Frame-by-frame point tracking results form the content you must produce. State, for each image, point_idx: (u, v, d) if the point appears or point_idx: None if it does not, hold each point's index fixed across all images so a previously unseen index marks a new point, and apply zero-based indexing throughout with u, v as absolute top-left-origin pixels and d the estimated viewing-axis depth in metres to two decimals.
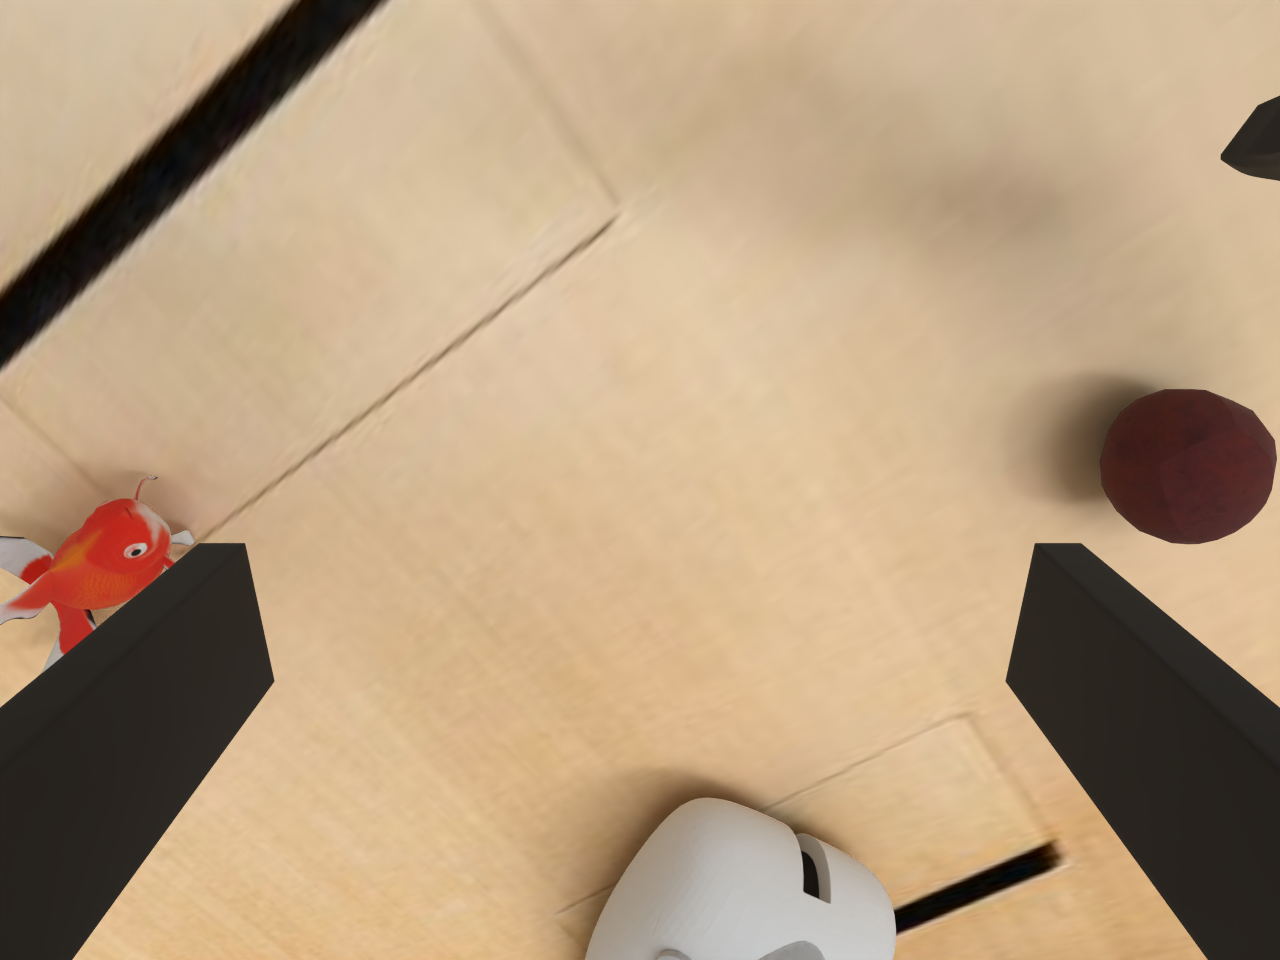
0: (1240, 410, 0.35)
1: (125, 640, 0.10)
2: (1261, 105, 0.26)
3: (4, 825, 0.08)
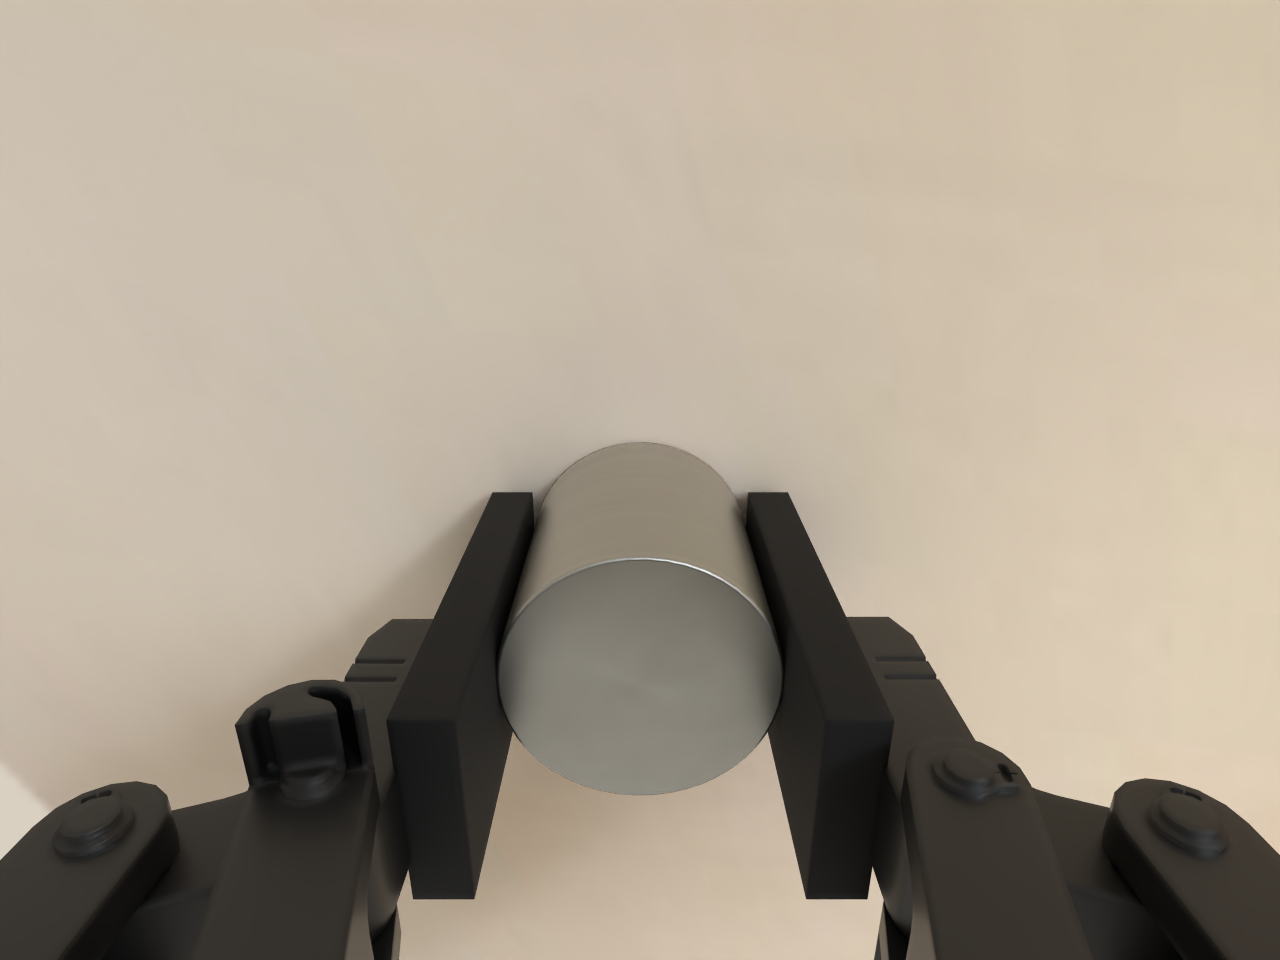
0: None
1: (496, 561, 0.12)
2: None
3: (480, 692, 0.10)
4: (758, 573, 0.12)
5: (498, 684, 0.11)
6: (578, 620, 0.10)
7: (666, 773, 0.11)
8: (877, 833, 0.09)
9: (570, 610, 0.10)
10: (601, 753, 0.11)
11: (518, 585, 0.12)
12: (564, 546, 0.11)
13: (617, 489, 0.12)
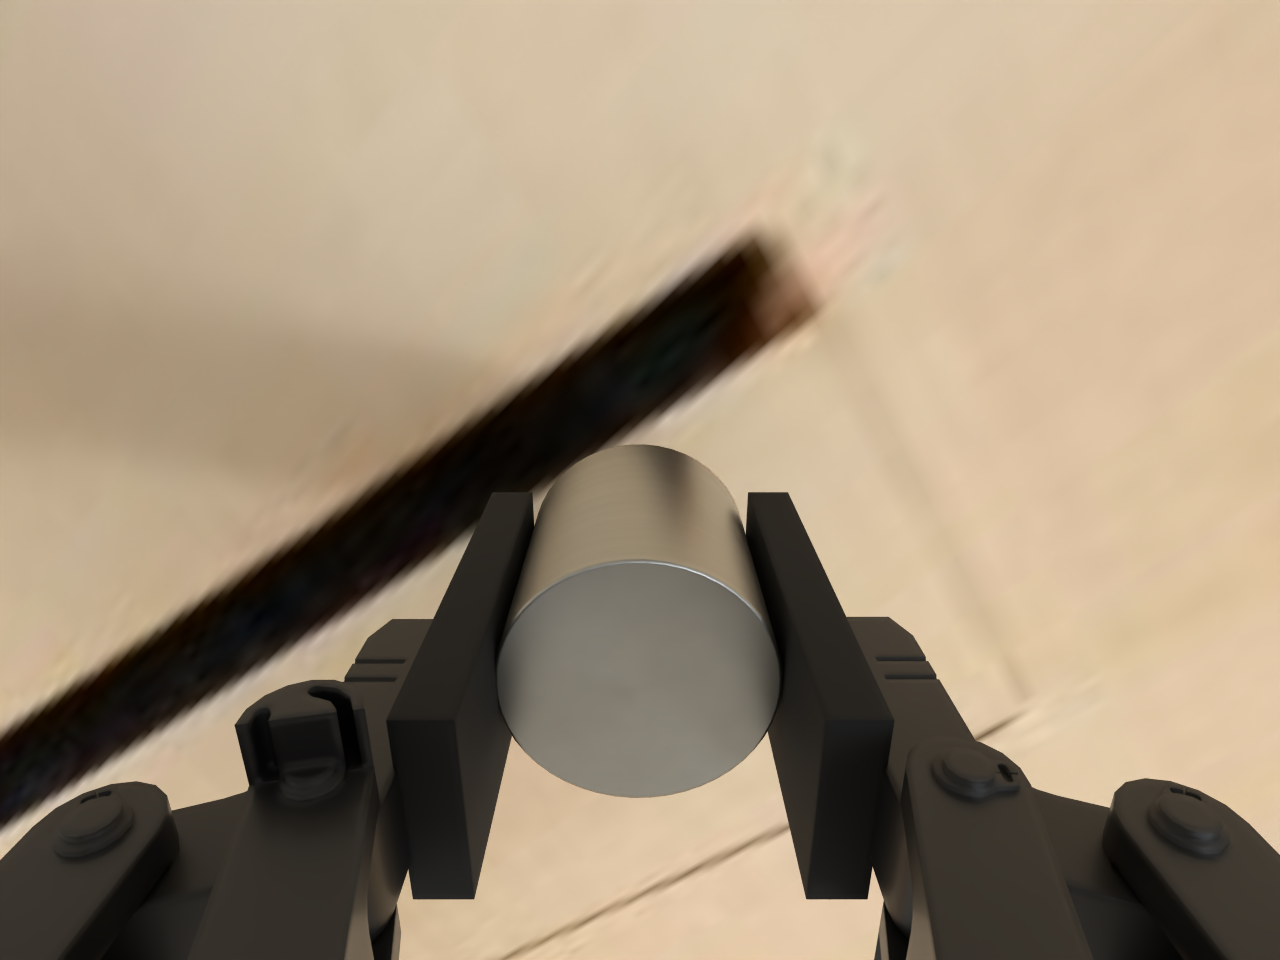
0: None
1: (496, 561, 0.12)
2: None
3: (480, 692, 0.10)
4: (756, 575, 0.12)
5: (496, 687, 0.11)
6: (576, 623, 0.10)
7: (664, 776, 0.11)
8: (877, 833, 0.09)
9: (568, 612, 0.10)
10: (599, 756, 0.11)
11: (516, 588, 0.12)
12: (562, 549, 0.11)
13: (615, 492, 0.12)
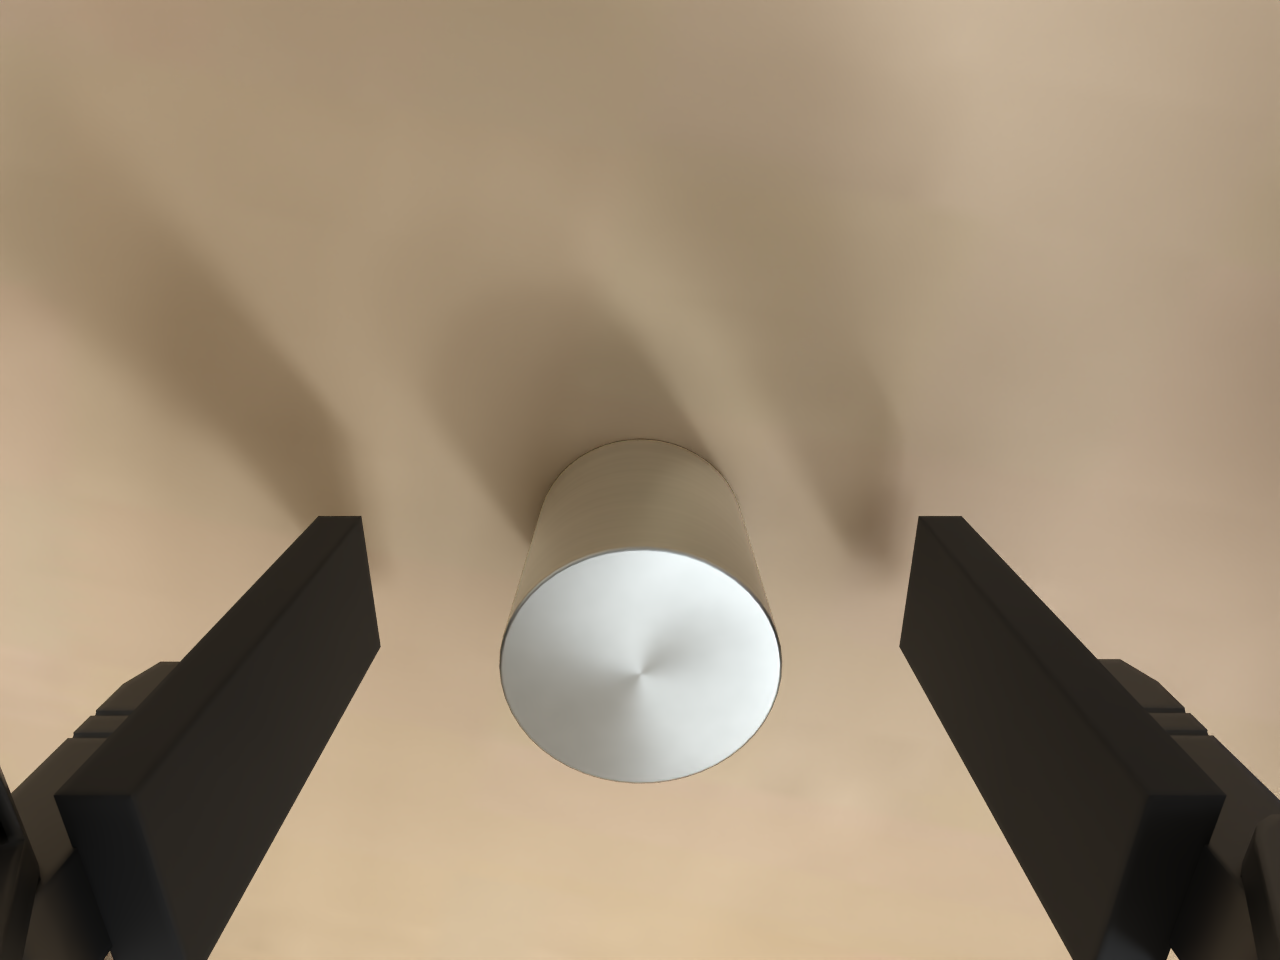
0: None
1: (280, 597, 0.11)
2: None
3: (211, 752, 0.09)
4: (756, 566, 0.12)
5: (501, 673, 0.11)
6: (580, 609, 0.11)
7: (666, 761, 0.12)
8: (1190, 918, 0.08)
9: (572, 599, 0.11)
10: (602, 741, 0.11)
11: (521, 577, 0.12)
12: (567, 538, 0.11)
13: (618, 484, 0.12)
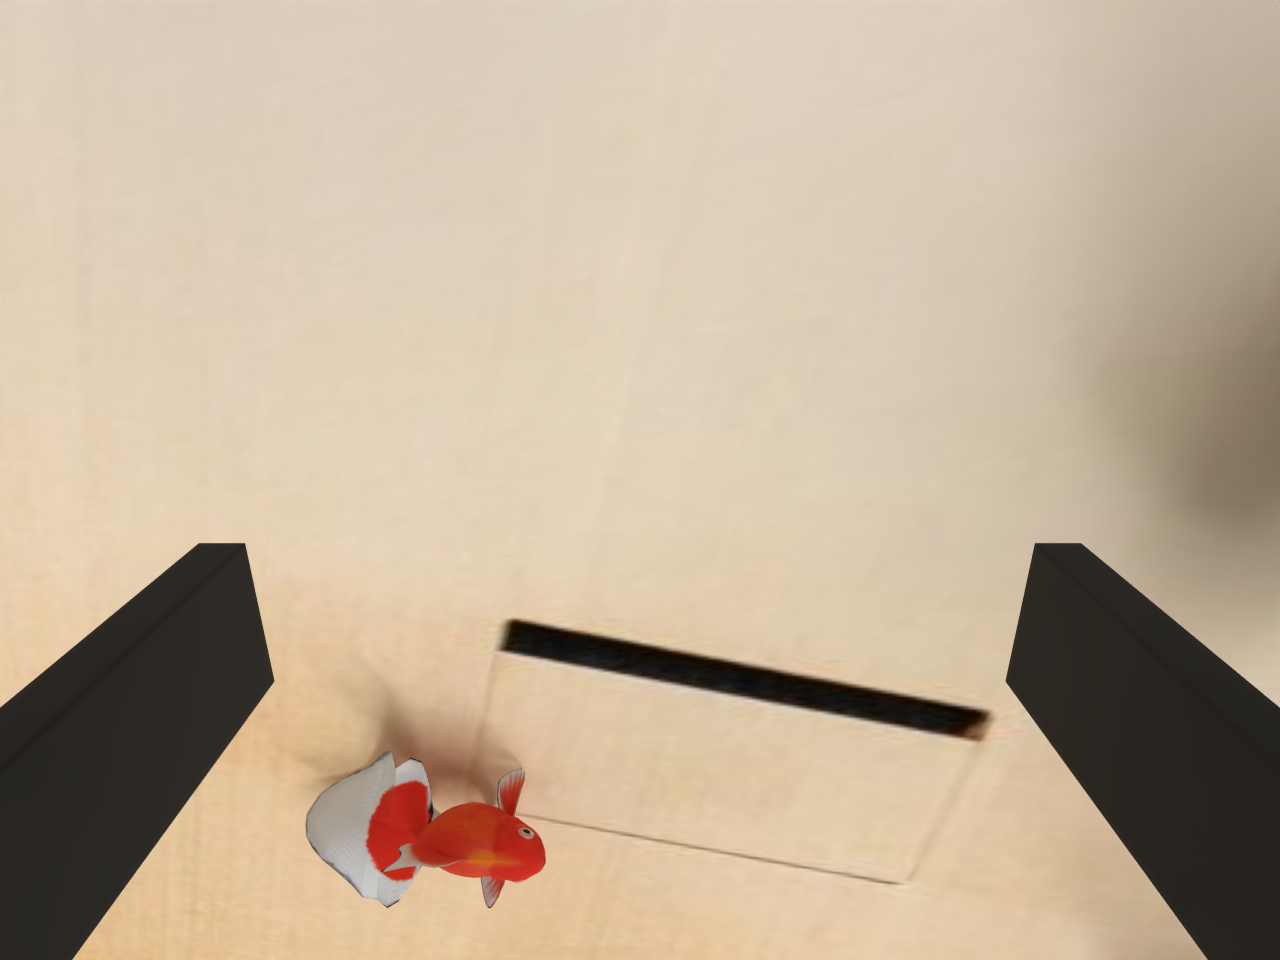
0: None
1: (125, 640, 0.10)
2: None
3: (5, 826, 0.08)
4: None
5: None
6: None
7: None
8: None
9: None
10: None
11: None
12: None
13: None
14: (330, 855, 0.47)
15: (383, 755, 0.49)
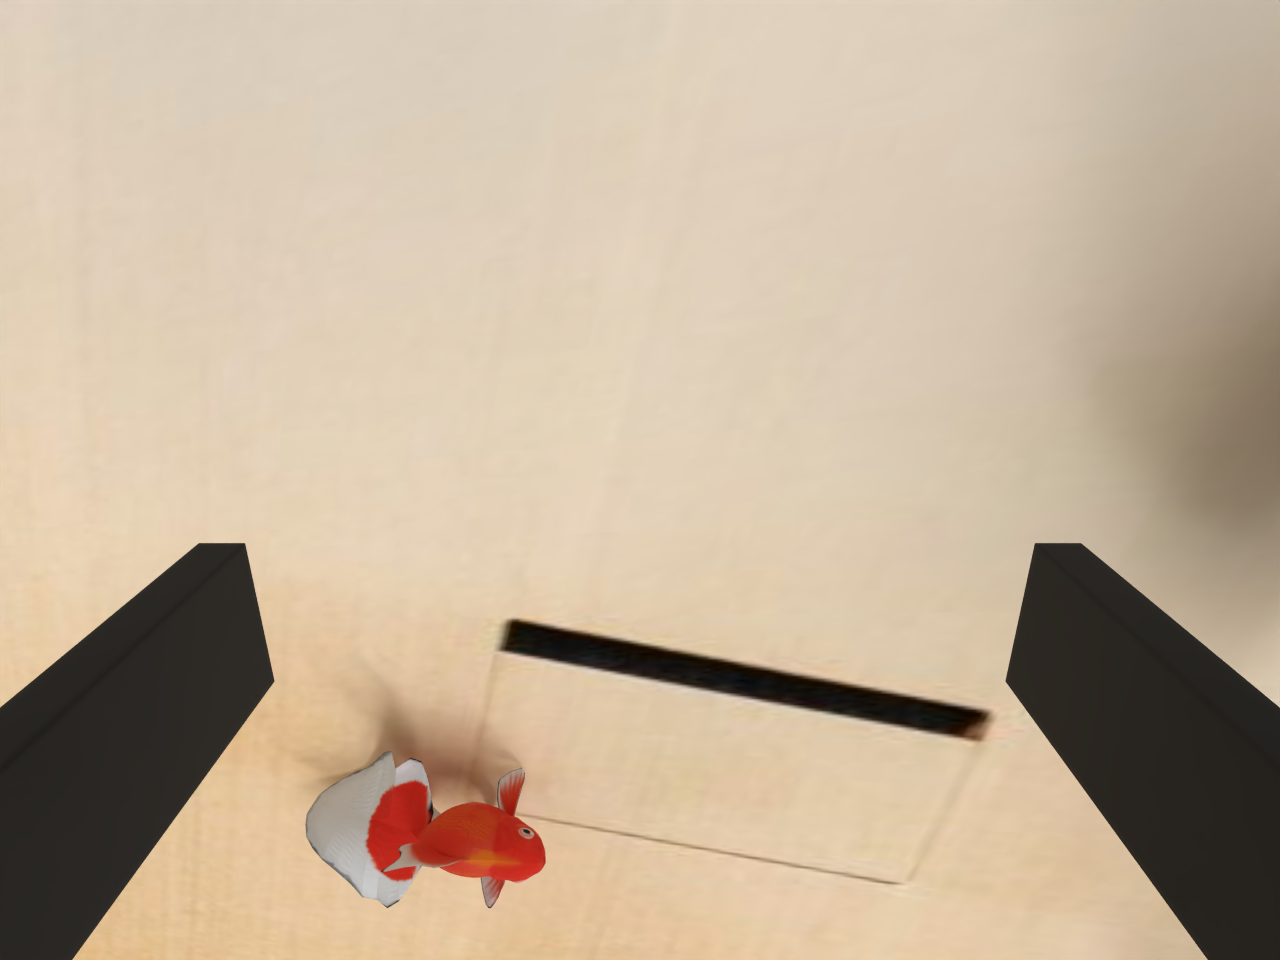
0: None
1: (125, 640, 0.10)
2: None
3: (5, 826, 0.08)
4: None
5: None
6: None
7: None
8: None
9: None
10: None
11: None
12: None
13: None
14: (330, 855, 0.47)
15: (383, 755, 0.49)
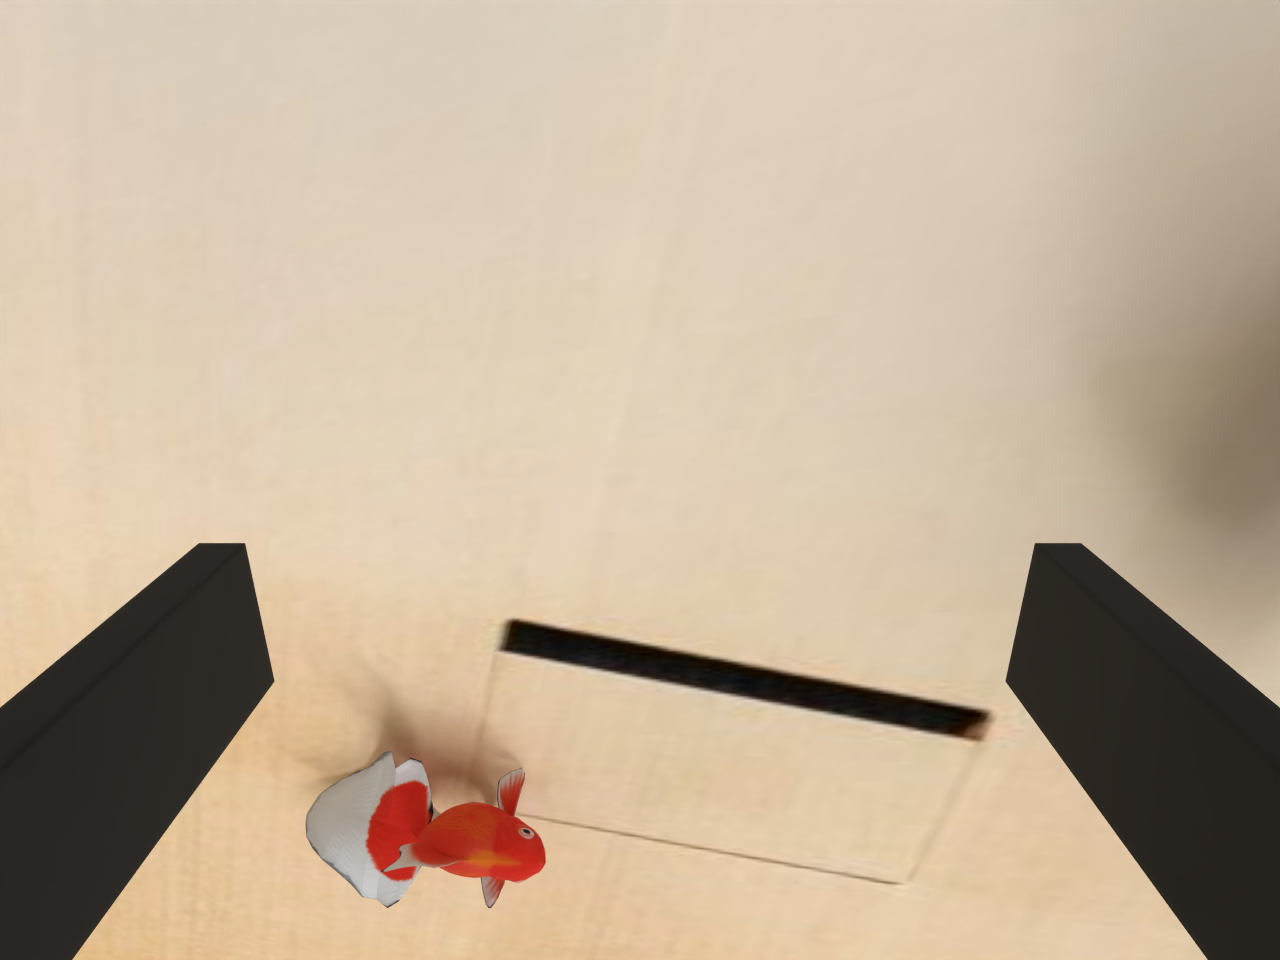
0: None
1: (125, 640, 0.10)
2: None
3: (5, 826, 0.08)
4: None
5: None
6: None
7: None
8: None
9: None
10: None
11: None
12: None
13: None
14: (330, 855, 0.47)
15: (383, 755, 0.49)
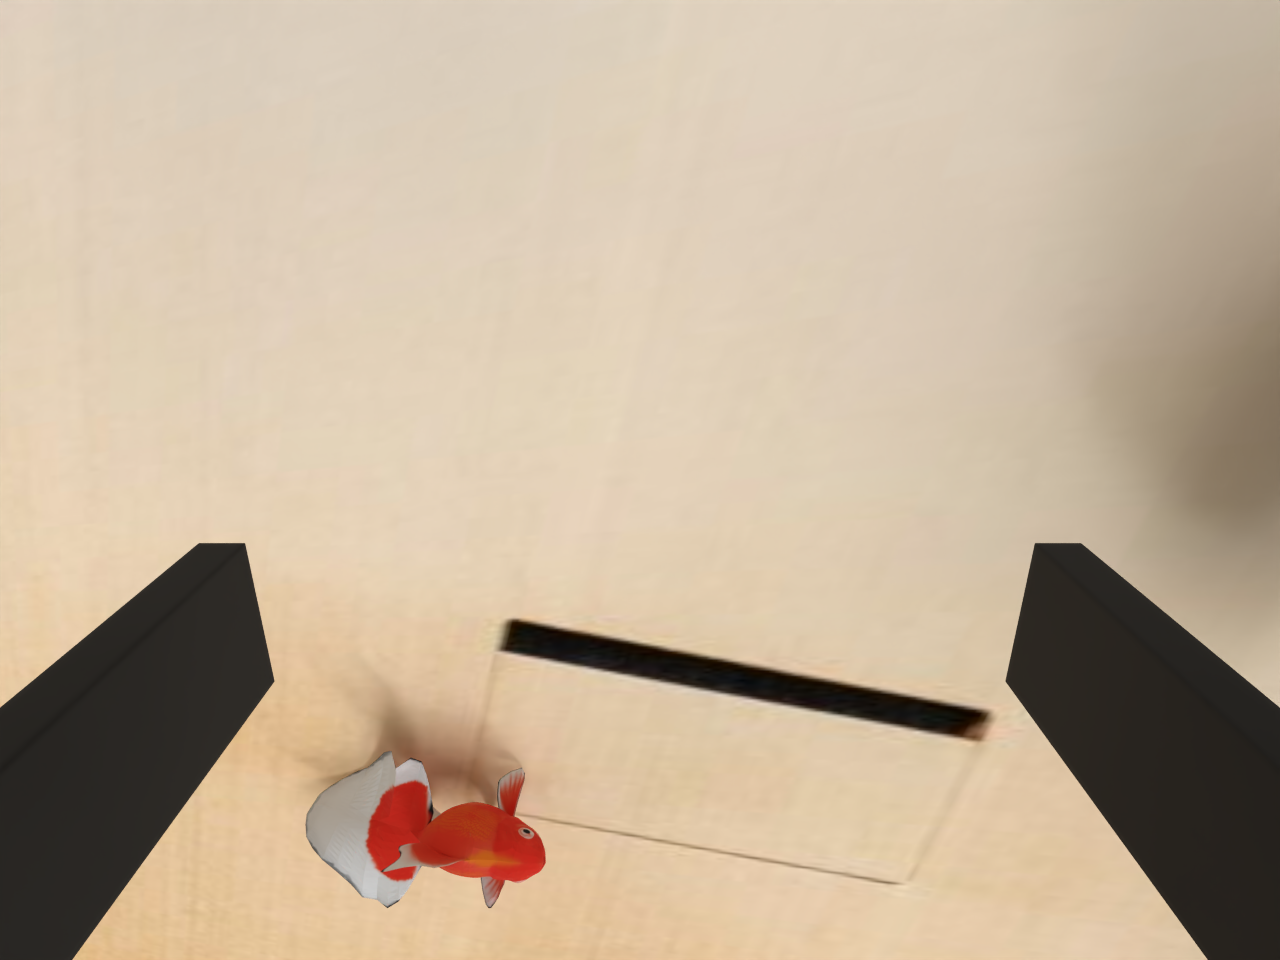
0: None
1: (125, 640, 0.10)
2: None
3: (5, 826, 0.08)
4: None
5: None
6: None
7: None
8: None
9: None
10: None
11: None
12: None
13: None
14: (330, 855, 0.47)
15: (383, 755, 0.49)
